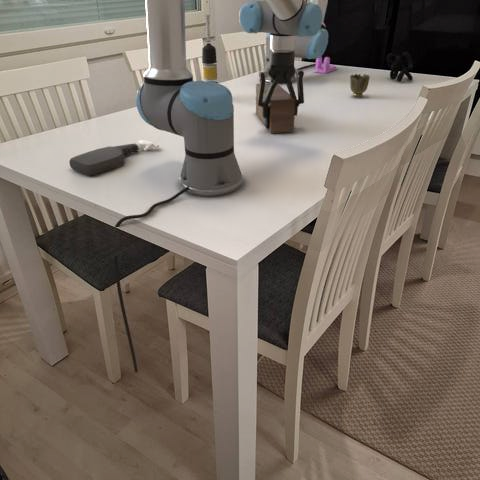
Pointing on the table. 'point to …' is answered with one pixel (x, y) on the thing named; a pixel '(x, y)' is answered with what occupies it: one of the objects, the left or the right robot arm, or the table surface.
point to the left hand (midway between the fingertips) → (279, 126)
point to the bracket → (324, 65)
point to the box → (278, 110)
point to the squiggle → (399, 66)
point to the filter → (209, 57)
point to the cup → (359, 84)
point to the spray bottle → (106, 157)
